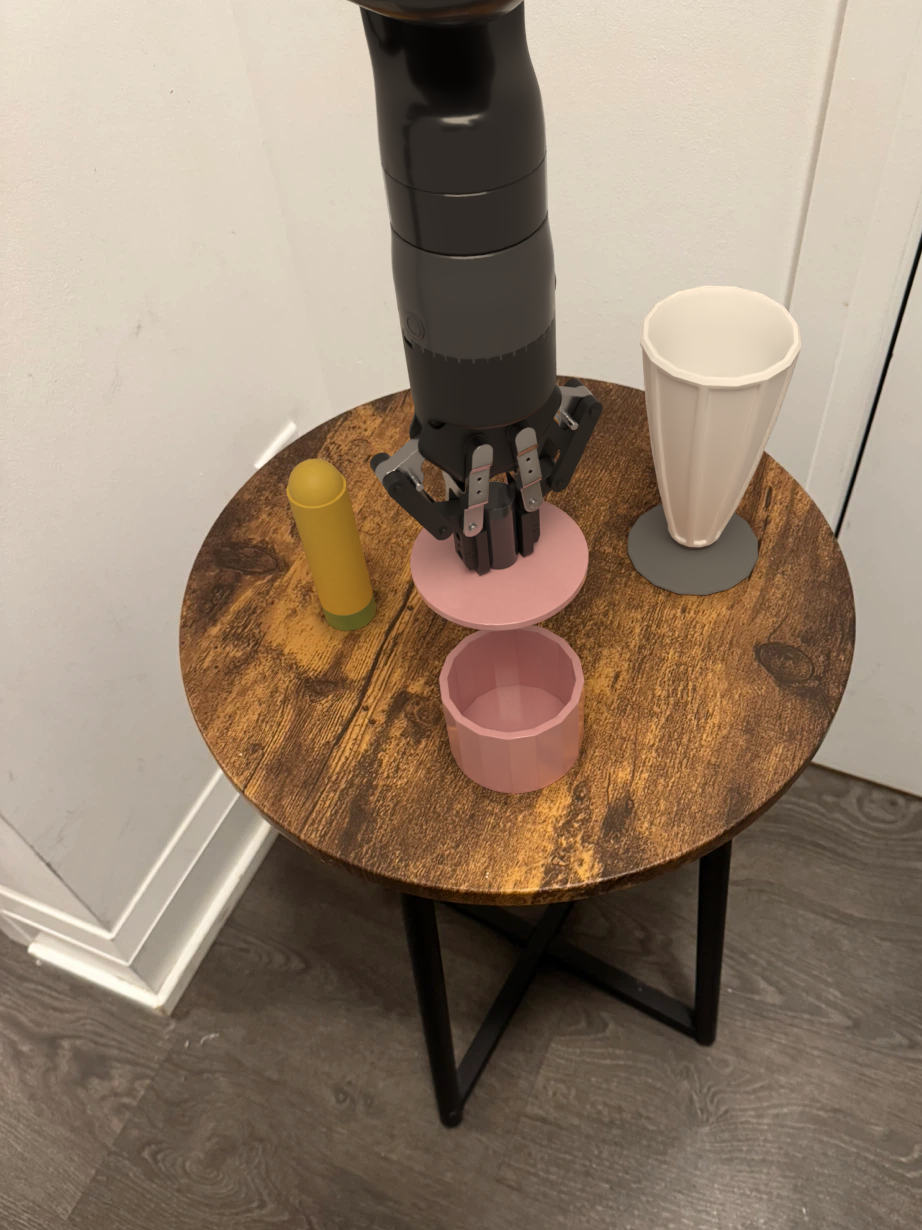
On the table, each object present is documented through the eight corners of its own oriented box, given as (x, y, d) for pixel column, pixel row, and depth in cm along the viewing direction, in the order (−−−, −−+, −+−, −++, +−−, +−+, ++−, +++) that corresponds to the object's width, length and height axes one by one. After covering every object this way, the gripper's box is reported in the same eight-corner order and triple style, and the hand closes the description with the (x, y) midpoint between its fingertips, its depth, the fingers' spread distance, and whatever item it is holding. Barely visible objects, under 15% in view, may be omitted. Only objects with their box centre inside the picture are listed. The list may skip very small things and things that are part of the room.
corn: (325, 634, 86) (280, 490, 73) (323, 595, 89) (279, 449, 75) (378, 627, 86) (342, 482, 73) (374, 588, 89) (339, 441, 76)
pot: (458, 803, 77) (447, 748, 70) (443, 693, 82) (433, 633, 76) (593, 782, 77) (595, 726, 71) (570, 675, 83) (569, 614, 77)
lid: (421, 649, 61) (406, 578, 56) (405, 518, 67) (391, 444, 62) (603, 623, 62) (606, 551, 57) (571, 496, 68) (571, 420, 63)
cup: (785, 564, 89) (837, 348, 71) (672, 615, 86) (696, 404, 68) (710, 484, 95) (741, 265, 77) (602, 529, 92) (608, 313, 74)
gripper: (564, 223, 53) (566, 479, 67) (311, 308, 50) (370, 559, 64) (642, 298, 49) (627, 552, 64) (375, 396, 46) (422, 641, 60)
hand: (498, 554), depth 64 cm, fingers closed on lid, 2 cm apart
